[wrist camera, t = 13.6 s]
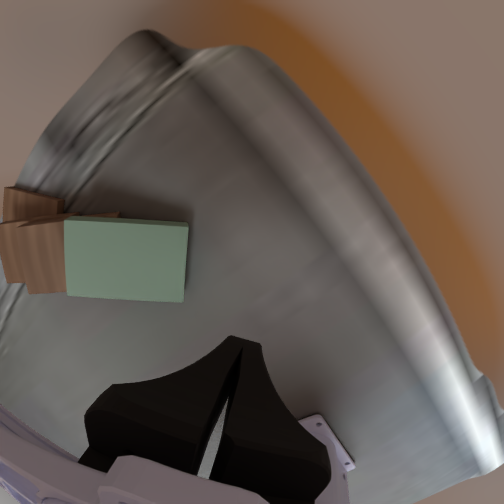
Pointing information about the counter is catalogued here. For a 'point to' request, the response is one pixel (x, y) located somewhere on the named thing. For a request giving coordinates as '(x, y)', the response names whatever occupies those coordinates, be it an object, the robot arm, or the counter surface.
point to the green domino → (125, 258)
